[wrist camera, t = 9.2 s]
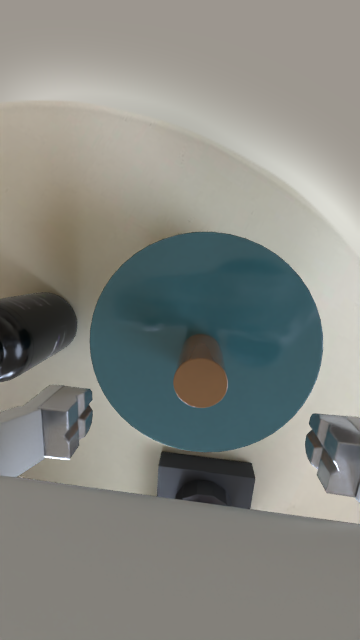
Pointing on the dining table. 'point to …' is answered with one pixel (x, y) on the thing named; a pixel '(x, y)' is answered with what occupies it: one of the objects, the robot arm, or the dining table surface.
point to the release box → (205, 480)
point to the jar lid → (206, 342)
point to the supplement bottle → (33, 331)
